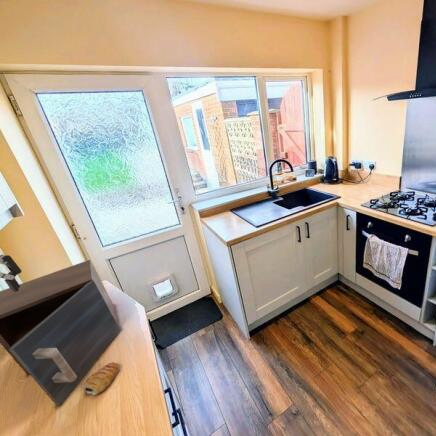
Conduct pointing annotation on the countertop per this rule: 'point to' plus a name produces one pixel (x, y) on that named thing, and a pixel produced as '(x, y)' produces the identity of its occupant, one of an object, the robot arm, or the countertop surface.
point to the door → (67, 342)
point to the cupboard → (43, 301)
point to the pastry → (101, 379)
